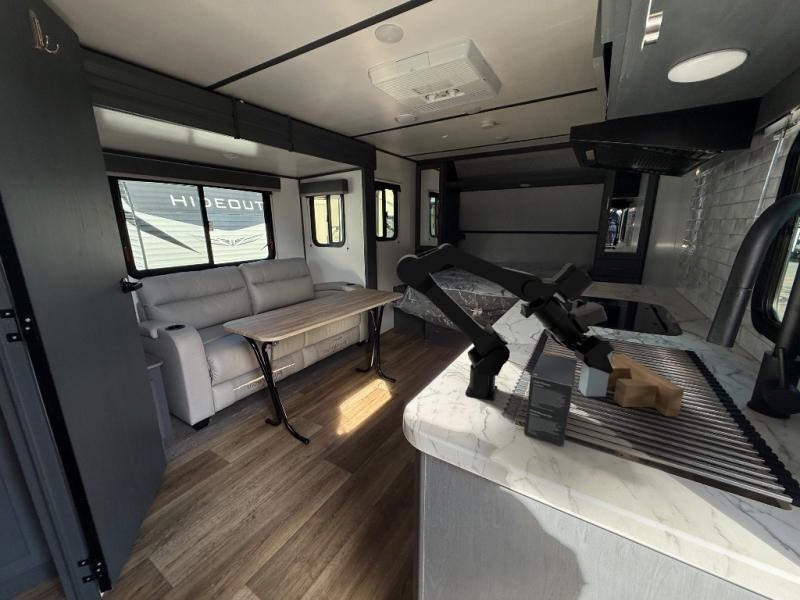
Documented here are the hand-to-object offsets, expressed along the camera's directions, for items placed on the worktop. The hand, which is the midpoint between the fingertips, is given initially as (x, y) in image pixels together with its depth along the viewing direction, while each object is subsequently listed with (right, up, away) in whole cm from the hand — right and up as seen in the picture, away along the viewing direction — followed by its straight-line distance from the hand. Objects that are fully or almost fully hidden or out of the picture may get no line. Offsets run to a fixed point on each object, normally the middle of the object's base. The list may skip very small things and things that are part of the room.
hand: (598, 363), depth 71 cm
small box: (-16, -10, -9) cm, 21 cm away
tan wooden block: (+7, -7, +2) cm, 10 cm away
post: (-1, -7, +2) cm, 8 cm away
